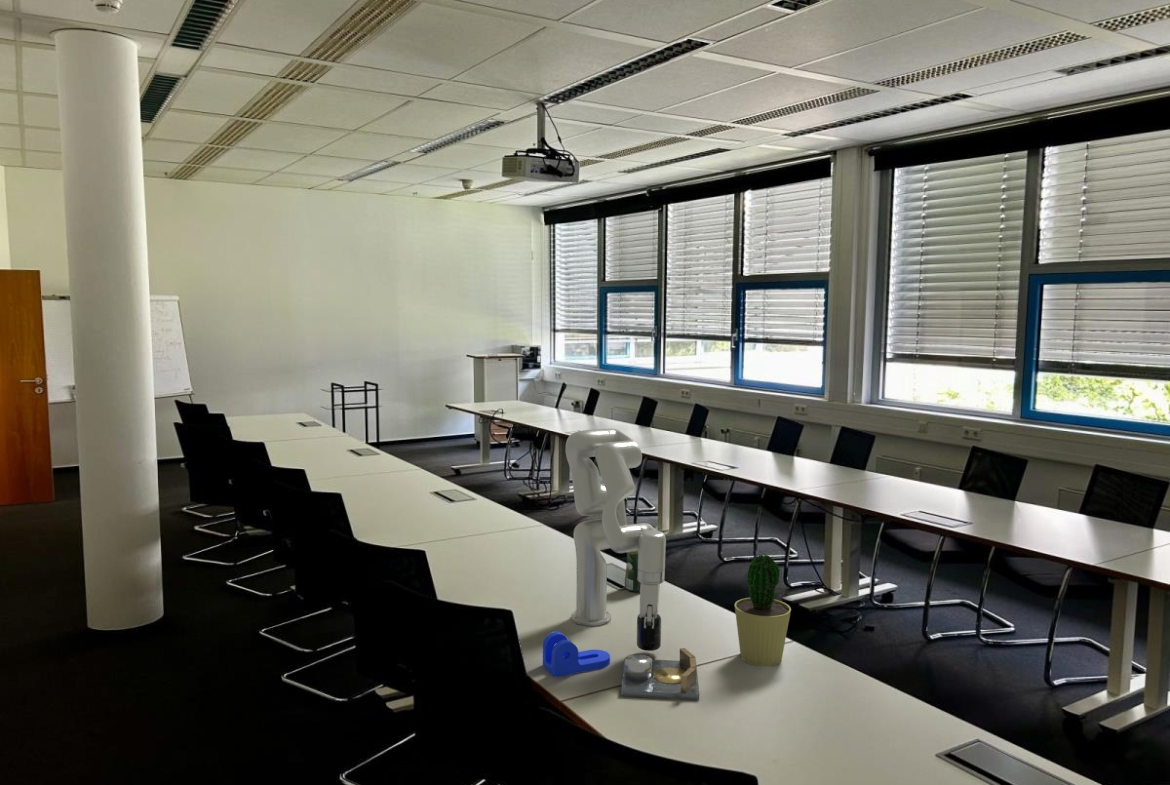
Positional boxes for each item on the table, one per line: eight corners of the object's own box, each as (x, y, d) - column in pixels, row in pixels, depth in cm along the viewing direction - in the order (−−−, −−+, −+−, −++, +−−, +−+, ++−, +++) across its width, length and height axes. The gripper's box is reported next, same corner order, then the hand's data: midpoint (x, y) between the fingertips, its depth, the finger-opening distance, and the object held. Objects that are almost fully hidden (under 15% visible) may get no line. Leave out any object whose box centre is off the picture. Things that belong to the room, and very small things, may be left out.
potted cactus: (748, 672, 218) (751, 563, 215) (724, 649, 233) (726, 547, 230) (799, 666, 222) (803, 559, 219) (772, 644, 237) (775, 544, 234)
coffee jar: (643, 583, 291) (644, 532, 289) (656, 589, 284) (656, 538, 282) (620, 587, 286) (621, 536, 285) (632, 594, 280) (633, 541, 278)
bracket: (554, 677, 214) (554, 644, 213) (542, 665, 221) (542, 633, 221) (615, 666, 221) (615, 634, 221) (601, 654, 229) (602, 623, 228)
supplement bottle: (658, 641, 232) (660, 601, 231) (661, 651, 226) (663, 610, 224) (635, 641, 232) (636, 600, 231) (637, 651, 225) (638, 610, 224)
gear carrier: (624, 663, 223) (624, 644, 222) (695, 666, 221) (696, 647, 220) (621, 696, 203) (621, 675, 203) (699, 700, 202) (699, 678, 201)
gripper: (638, 564, 235) (636, 622, 238) (636, 585, 218) (634, 648, 220) (664, 565, 235) (662, 624, 237) (664, 586, 218) (662, 650, 220)
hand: (648, 635), depth 229 cm, fingers closed on supplement bottle, 6 cm apart
